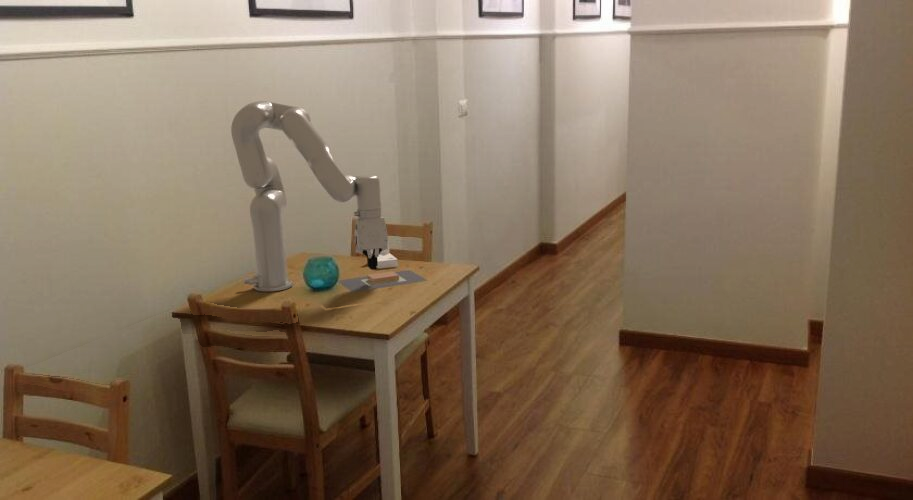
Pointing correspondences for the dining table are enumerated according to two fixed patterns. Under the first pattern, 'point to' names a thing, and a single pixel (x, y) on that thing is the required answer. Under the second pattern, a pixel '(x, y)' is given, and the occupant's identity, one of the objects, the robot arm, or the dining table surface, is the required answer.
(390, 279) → the tile
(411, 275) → the mat
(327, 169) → the robot arm
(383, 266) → the bracket
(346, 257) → the dining table surface
